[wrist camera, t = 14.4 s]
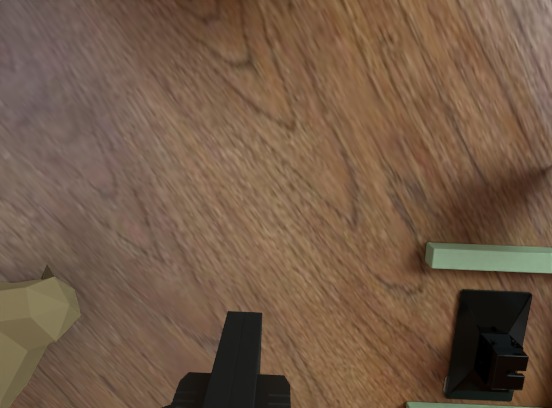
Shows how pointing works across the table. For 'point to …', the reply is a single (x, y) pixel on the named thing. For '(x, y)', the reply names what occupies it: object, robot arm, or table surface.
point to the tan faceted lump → (31, 327)
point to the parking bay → (486, 261)
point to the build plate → (488, 345)
